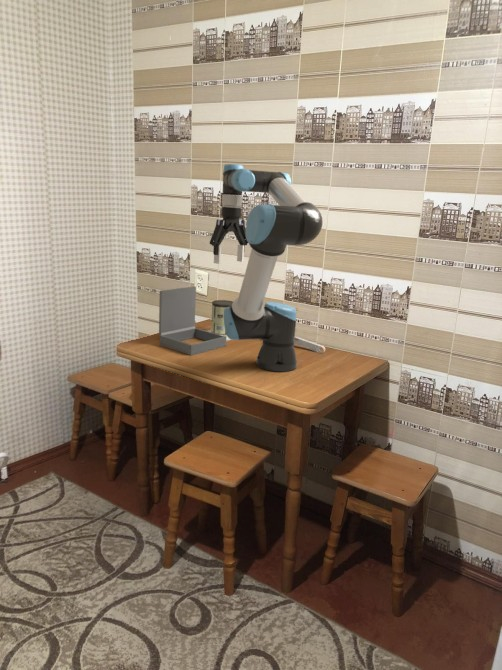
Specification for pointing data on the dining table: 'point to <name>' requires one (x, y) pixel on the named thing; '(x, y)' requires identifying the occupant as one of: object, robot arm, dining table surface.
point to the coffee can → (219, 316)
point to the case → (183, 323)
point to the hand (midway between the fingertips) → (228, 262)
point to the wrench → (308, 344)
